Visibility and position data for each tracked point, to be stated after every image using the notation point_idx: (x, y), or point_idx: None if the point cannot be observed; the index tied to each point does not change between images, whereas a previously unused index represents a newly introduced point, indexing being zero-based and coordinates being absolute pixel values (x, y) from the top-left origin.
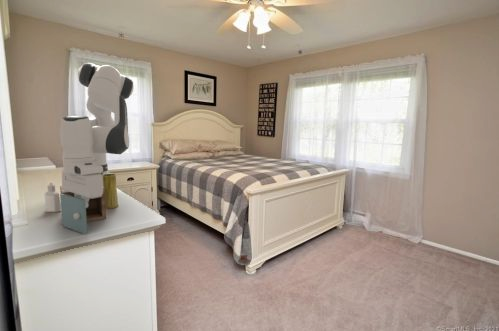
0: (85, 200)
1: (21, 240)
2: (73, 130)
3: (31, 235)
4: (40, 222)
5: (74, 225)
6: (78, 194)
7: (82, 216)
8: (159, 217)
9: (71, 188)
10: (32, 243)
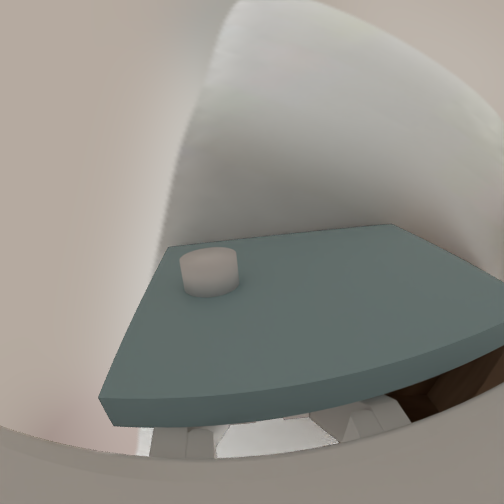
0: None
1: (359, 33)
2: None
3: (392, 84)
4: (497, 192)
5: (272, 244)
6: (215, 459)
7: (151, 291)
8: None
9: (454, 460)
10: (276, 37)
